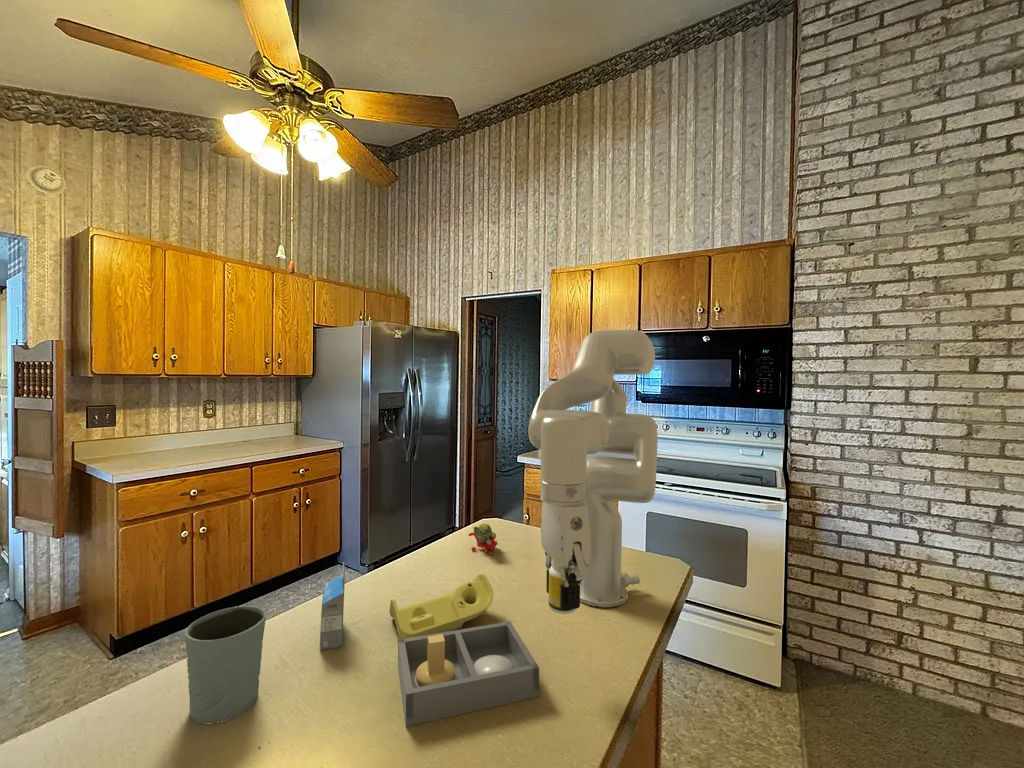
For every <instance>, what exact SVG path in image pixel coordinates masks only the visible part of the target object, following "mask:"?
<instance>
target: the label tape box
mask: <svg viewBox="0 0 1024 768" xmlns="http://www.w3.org/2000/svg"><path fill="white" fill-rule="evenodd" d="M342 564H343V565H342V566H343V569H342V574H341V575H339V576H337V577H336V578H333V579H331V580H329V581H327V582H325V583H324V586H323V593H322V594H323V595H322V602H321V612H320V613H321V614H320V615H321V616H320V632H319V633H320V635H319V637H320V639H319V650H321V651H322V650H331V649H337V648H340V647H342V645H343V644H342V643H343V642H342V641H343V631H344V630H343V626H344V608H345V607H344V603H345V587H346V586H345V581H346V580H345V579H346V577H345V575H346V573H345V562H344V561H343V562H342Z"/></svg>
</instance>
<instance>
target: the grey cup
mask: <svg viewBox="0 0 1024 768" xmlns="http://www.w3.org/2000/svg"><path fill="white" fill-rule="evenodd" d="M266 618H267V615H266V612H265V610H264V609H262V608H260V607H257V606H249V605H244V606H243V605H242V606H233V607H227V608H223V609H219V610H216V611H213V612H210V613H208V614H206V615H204V616H200V618H198V619H196V620H194V621H193V622H192V623H190V624H189V626H187V628H186V629H185V630H184V639H185V652H186V655H187V658H186V663H187V665H186V666H187V674H188V676H187V678H188V685H187V687H188V696H189V714H190V717H191V719H193V721H194V722H195V721H196V722H199V723H204V724H203V725H209V724H208V723H216V724H218V723H217V722H220V723H222V722H221V721H224V722H226V721H225V720H227V721H229V720H228V719H230V720H232V719H233V717H234V718H236V717H238V716H239V714H240V715H242V714H243V713H244V712H246V711H247V710H249V708H251V707H252V706H253V704H254V703H255V702H256V700H257V698H258V695H259V690H260V689H259V686H260V679H259V677H260V674H261V665H262V663H261V662H262V656H263V655H262V651H263V641H264V634H265V633H264V632H265V627H266ZM237 715H238V716H237ZM235 716H236V717H235ZM231 718H232V719H231ZM196 722H195V723H196ZM199 723H198V724H199ZM205 723H207V724H205Z"/></svg>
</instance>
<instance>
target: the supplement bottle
mask: <svg viewBox="0 0 1024 768" xmlns="http://www.w3.org/2000/svg"><path fill="white" fill-rule="evenodd" d="M573 563H574V562H573V561H568V564H573ZM551 565H552V566H551V567H550V569H548V570H549V594H548V608H549V609H550V610H551V611H552V612H554V613H555V614H559V615H570V614H572V613H575V611H576V610H577V609H578V608H576V609H571V610H565V611H563V610H562V609H561V608H560V588H561V585H562V584H563V579H562V569H561V566H560V565H559V564H558V563H557V562H556V561H554V560H553V559H552V558H551ZM571 573H574V569H569V570H568V576H569V575H570V574H571Z"/></svg>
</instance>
